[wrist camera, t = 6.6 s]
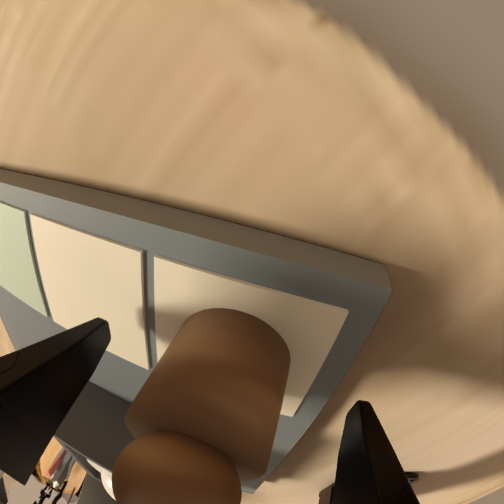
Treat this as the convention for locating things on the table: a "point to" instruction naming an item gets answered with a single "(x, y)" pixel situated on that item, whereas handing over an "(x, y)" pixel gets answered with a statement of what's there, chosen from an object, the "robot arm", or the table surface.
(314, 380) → the game board
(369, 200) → the table surface
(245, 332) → the walnut pawn
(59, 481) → the beer glass
